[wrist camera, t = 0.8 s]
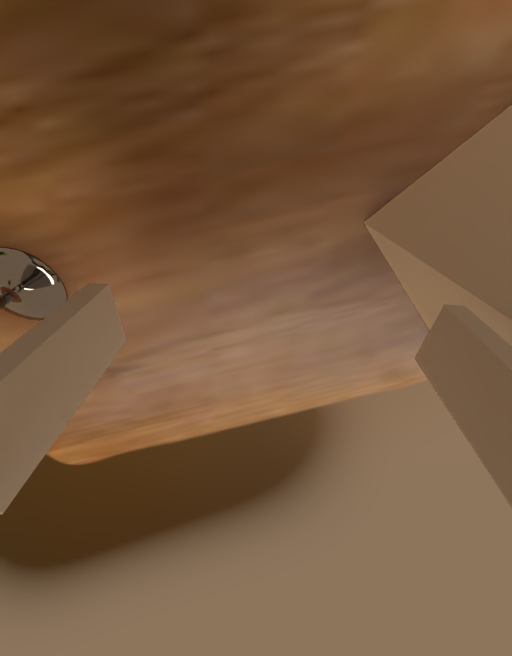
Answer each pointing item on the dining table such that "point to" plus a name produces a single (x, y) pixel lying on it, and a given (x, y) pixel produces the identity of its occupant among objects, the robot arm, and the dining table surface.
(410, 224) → the pedestal
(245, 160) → the dining table surface
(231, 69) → the dining table surface
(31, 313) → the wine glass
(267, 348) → the dining table surface
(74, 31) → the dining table surface
